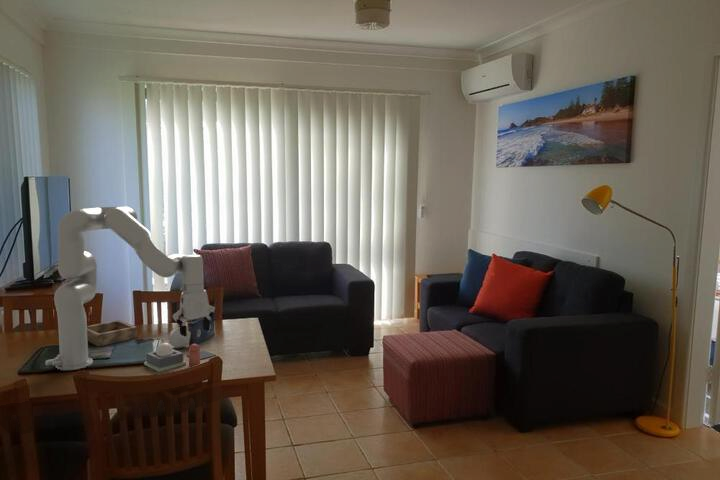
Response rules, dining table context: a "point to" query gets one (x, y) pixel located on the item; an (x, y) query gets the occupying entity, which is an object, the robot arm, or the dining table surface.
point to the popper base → (164, 361)
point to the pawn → (194, 355)
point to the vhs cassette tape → (200, 331)
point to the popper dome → (164, 350)
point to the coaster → (205, 355)
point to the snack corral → (110, 332)
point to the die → (179, 338)
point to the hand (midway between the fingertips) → (195, 332)
